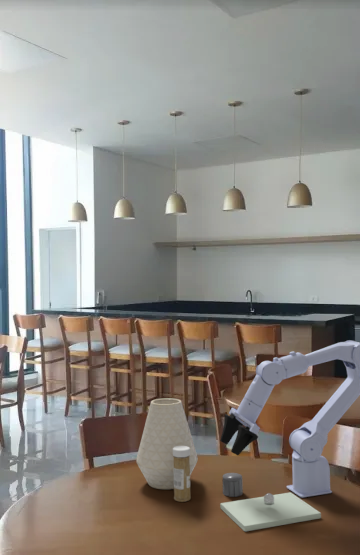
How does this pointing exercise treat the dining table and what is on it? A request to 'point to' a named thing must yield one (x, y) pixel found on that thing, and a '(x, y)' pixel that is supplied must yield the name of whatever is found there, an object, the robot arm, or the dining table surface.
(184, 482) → the sprinkles bottle
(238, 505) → the post board
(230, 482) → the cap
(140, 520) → the dining table surface
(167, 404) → the vase
